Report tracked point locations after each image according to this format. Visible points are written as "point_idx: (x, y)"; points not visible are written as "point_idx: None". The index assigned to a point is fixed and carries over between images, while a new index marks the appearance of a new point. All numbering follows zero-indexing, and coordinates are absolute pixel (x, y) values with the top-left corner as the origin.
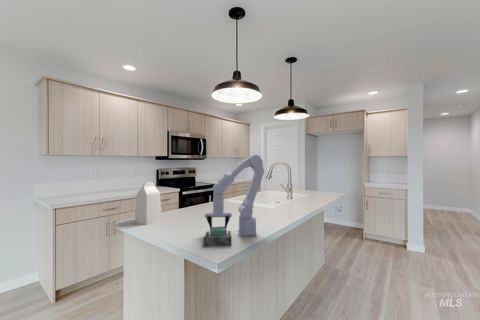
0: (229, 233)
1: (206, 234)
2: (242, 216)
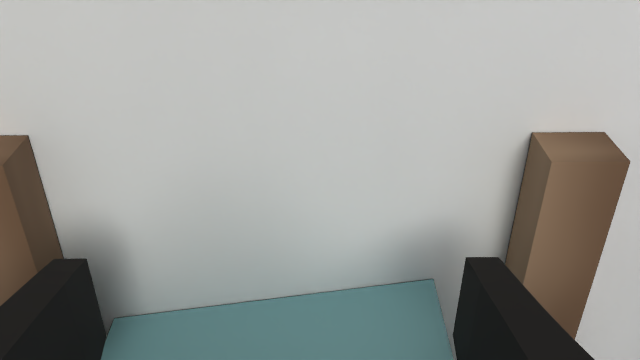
0: None
1: None
2: None
